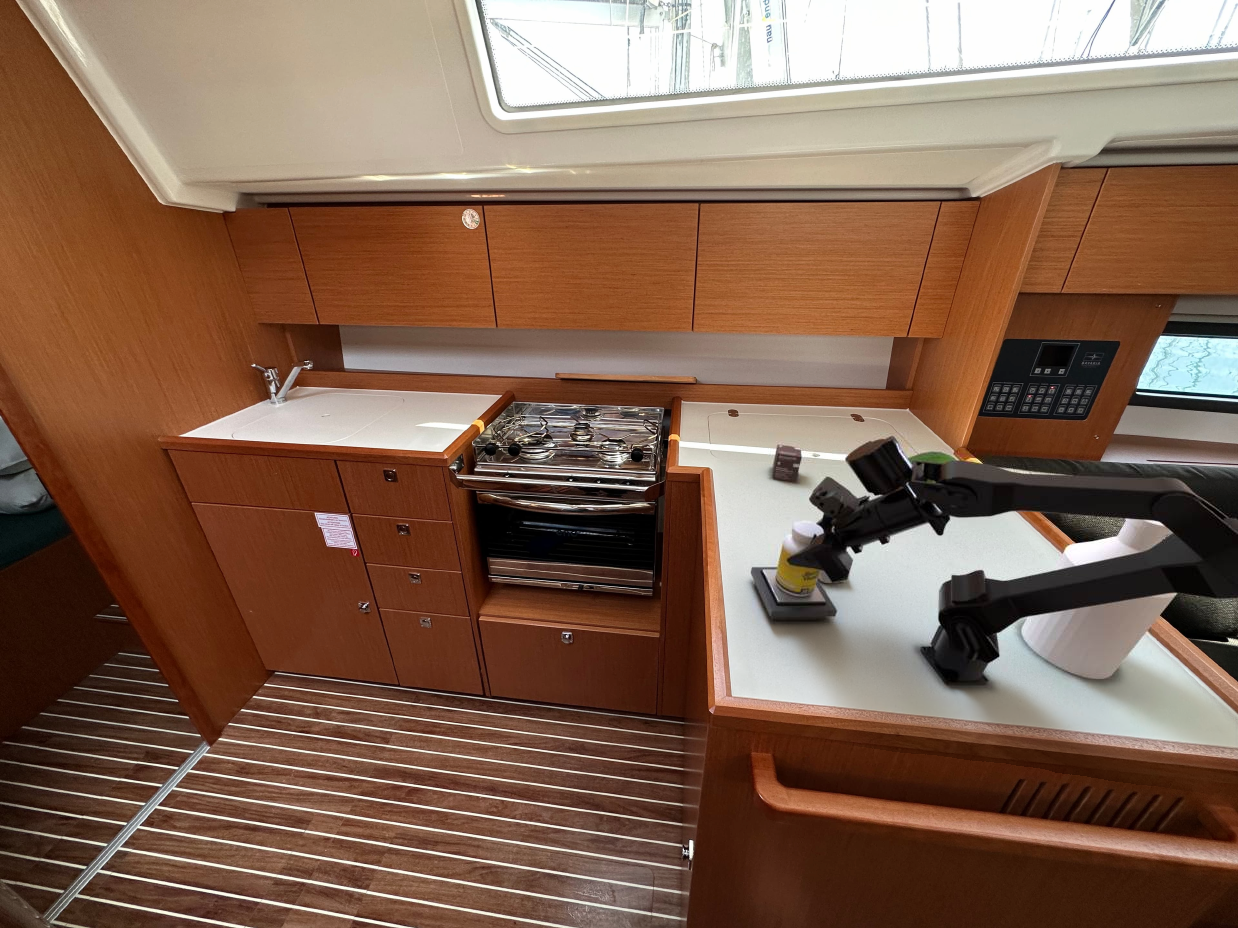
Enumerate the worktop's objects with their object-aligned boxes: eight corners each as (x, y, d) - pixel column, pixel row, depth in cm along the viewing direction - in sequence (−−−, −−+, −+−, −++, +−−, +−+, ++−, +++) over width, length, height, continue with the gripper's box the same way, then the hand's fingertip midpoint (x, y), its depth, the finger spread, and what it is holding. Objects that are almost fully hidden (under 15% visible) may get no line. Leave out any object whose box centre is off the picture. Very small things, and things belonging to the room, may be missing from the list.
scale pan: (823, 607, 78) (825, 601, 77) (776, 607, 77) (778, 601, 77) (804, 574, 85) (806, 569, 84) (761, 575, 84) (762, 569, 84)
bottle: (1003, 632, 77) (1076, 503, 66) (1044, 612, 82) (1119, 488, 70) (1090, 691, 68) (1193, 552, 56) (1132, 665, 72) (1235, 531, 61)
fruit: (899, 495, 117) (912, 459, 112) (883, 476, 125) (894, 442, 121) (962, 500, 116) (978, 464, 111) (942, 480, 124) (955, 446, 120)
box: (771, 478, 122) (777, 453, 119) (771, 468, 127) (777, 443, 124) (796, 482, 120) (802, 457, 117) (795, 472, 126) (801, 447, 122)
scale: (832, 624, 78) (837, 610, 76) (768, 624, 77) (771, 611, 76) (806, 579, 87) (810, 566, 86) (748, 579, 87) (751, 566, 85)
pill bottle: (791, 602, 76) (806, 544, 71) (766, 577, 82) (778, 521, 77) (822, 592, 79) (839, 535, 73) (796, 569, 84) (810, 514, 79)
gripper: (862, 448, 75) (780, 488, 85) (842, 497, 61) (746, 539, 71) (903, 505, 75) (816, 538, 85) (892, 568, 61) (789, 599, 71)
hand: (793, 551), depth 78 cm, fingers closed on pill bottle, 6 cm apart
